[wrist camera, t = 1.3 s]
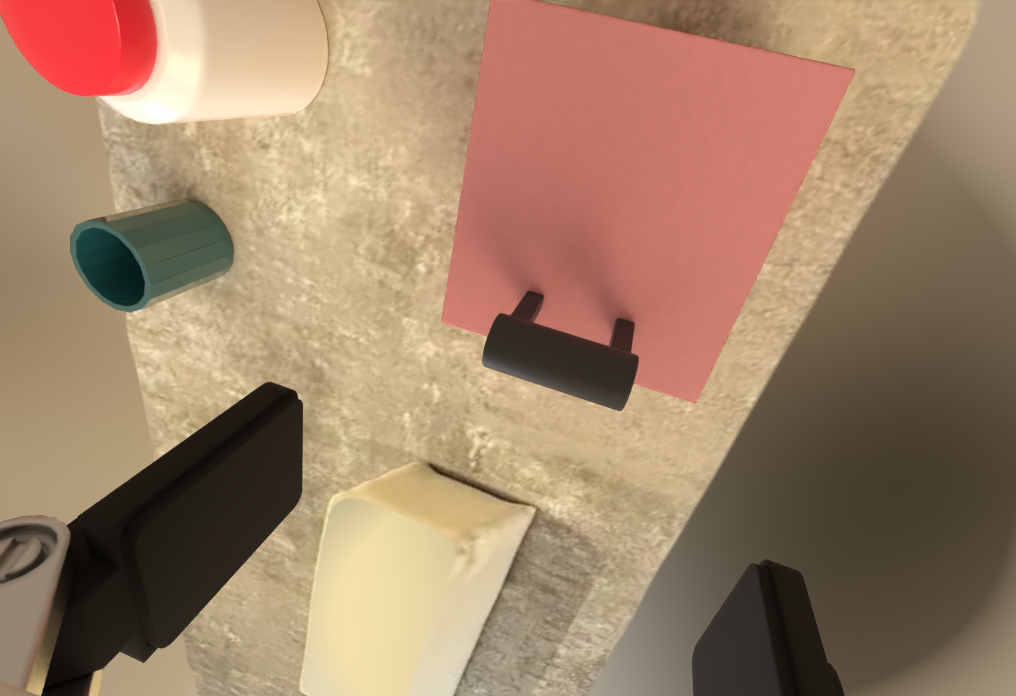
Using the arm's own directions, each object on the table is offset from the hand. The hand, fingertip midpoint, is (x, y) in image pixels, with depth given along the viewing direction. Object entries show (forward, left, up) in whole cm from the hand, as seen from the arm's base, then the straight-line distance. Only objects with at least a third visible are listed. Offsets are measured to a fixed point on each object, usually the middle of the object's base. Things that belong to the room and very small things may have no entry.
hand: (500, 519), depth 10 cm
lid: (-3, +2, -11) cm, 12 cm away
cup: (-7, -26, -20) cm, 34 cm away
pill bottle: (-16, -15, -20) cm, 30 cm away
